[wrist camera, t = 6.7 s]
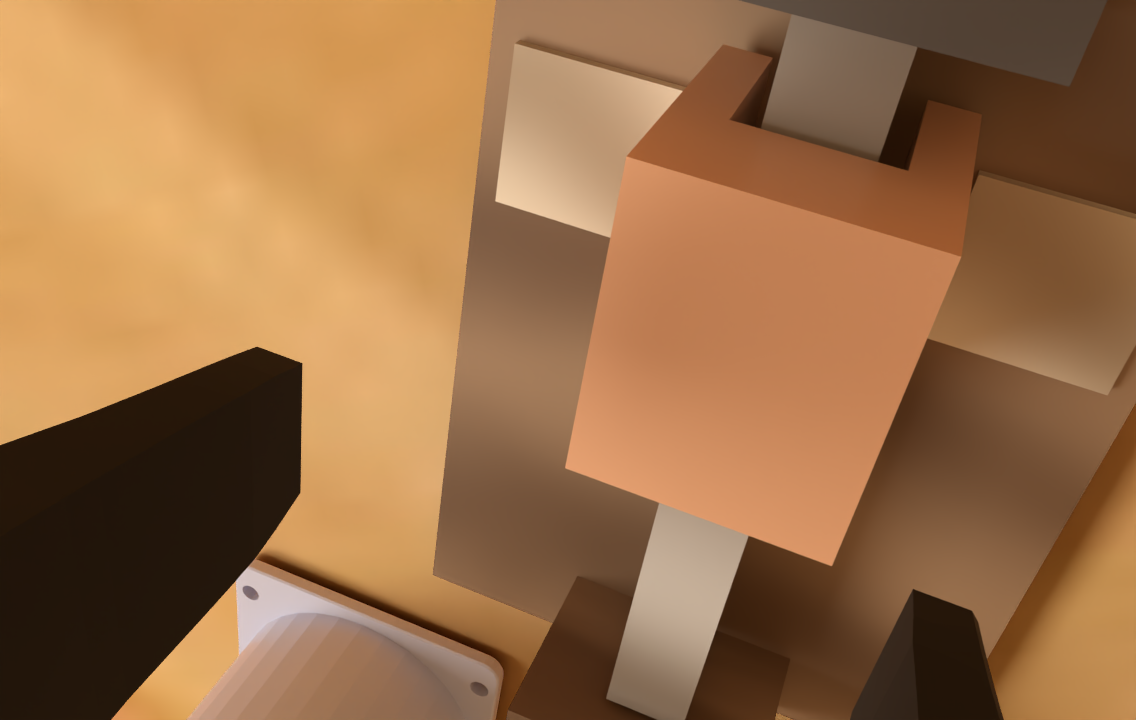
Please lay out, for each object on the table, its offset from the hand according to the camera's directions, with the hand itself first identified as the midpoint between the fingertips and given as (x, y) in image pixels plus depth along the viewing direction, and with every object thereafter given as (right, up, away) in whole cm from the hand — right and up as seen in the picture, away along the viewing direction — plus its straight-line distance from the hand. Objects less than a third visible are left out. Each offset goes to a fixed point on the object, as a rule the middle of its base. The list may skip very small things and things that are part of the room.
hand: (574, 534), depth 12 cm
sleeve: (+4, +4, +6) cm, 8 cm away
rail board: (+4, +2, +9) cm, 10 cm away
